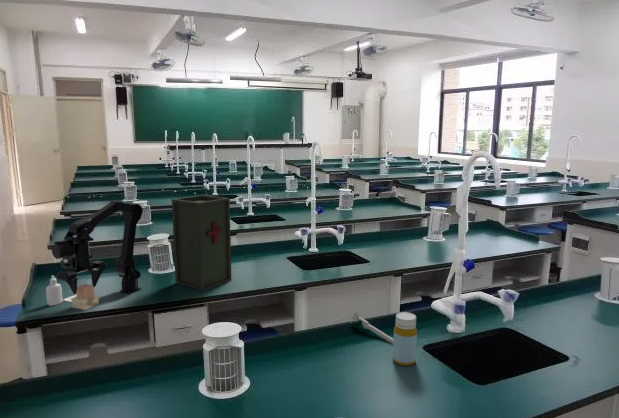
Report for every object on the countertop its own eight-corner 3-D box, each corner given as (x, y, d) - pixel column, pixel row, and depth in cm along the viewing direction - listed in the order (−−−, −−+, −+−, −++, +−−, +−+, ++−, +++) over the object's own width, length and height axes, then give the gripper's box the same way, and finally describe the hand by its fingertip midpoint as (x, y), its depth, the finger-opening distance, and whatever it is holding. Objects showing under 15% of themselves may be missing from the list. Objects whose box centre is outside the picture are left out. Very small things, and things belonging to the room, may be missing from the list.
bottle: (401, 368, 139) (403, 322, 137) (388, 358, 146) (390, 313, 143) (419, 363, 142) (422, 318, 140) (406, 354, 148) (408, 310, 146)
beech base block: (86, 302, 192) (86, 292, 191) (99, 304, 189) (98, 295, 189) (72, 307, 186) (71, 298, 185) (84, 310, 183) (83, 301, 182)
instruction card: (78, 294, 200) (78, 293, 200) (88, 296, 198) (88, 295, 198) (62, 300, 193) (62, 299, 193) (72, 302, 191) (72, 301, 191)
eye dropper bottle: (47, 303, 190) (44, 275, 188) (62, 300, 192) (60, 273, 190) (47, 306, 186) (44, 278, 184) (63, 304, 189) (60, 276, 187)
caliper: (351, 327, 169) (351, 311, 168) (353, 326, 170) (353, 310, 169) (396, 346, 154) (397, 328, 153) (398, 345, 155) (399, 327, 154)
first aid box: (205, 273, 230) (202, 194, 224) (231, 280, 220) (229, 198, 213) (175, 283, 216) (171, 199, 209) (202, 291, 205) (199, 203, 198)
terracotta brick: (94, 295, 188) (93, 285, 187) (84, 299, 184) (83, 288, 183) (86, 294, 190) (85, 283, 189) (76, 297, 186) (75, 287, 185)
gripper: (87, 245, 195) (89, 280, 198) (46, 256, 179) (50, 294, 181) (106, 248, 191) (108, 284, 194) (66, 260, 174) (69, 299, 177)
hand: (84, 290), depth 186 cm, fingers open, 9 cm apart
